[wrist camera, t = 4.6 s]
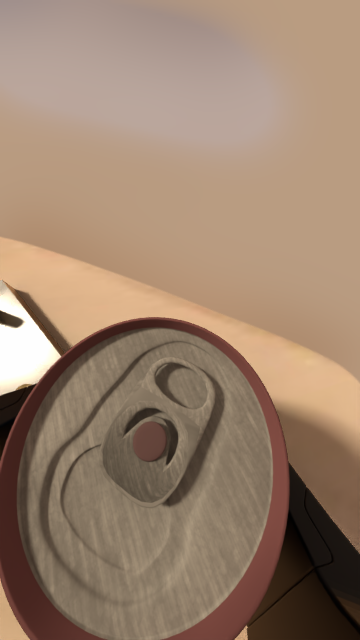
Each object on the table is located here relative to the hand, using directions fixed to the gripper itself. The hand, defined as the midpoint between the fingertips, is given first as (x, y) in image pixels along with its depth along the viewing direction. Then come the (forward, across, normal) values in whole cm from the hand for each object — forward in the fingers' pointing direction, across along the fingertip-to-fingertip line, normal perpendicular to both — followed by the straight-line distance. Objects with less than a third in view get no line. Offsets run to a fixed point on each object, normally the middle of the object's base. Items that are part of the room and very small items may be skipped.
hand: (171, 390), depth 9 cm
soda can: (+4, 0, +6) cm, 7 cm away
